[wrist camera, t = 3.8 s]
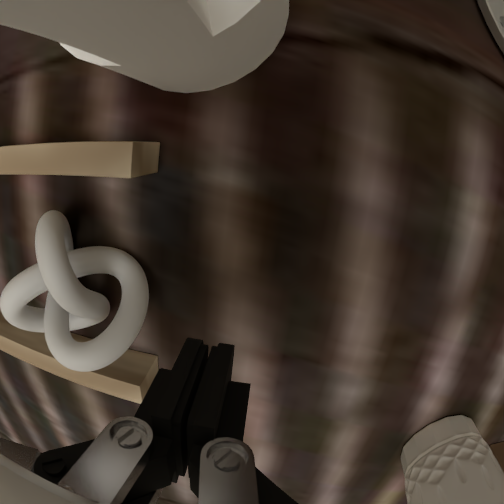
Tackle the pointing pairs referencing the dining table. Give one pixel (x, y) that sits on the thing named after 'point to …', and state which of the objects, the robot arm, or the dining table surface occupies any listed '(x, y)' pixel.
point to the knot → (76, 297)
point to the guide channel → (34, 343)
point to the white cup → (451, 465)
